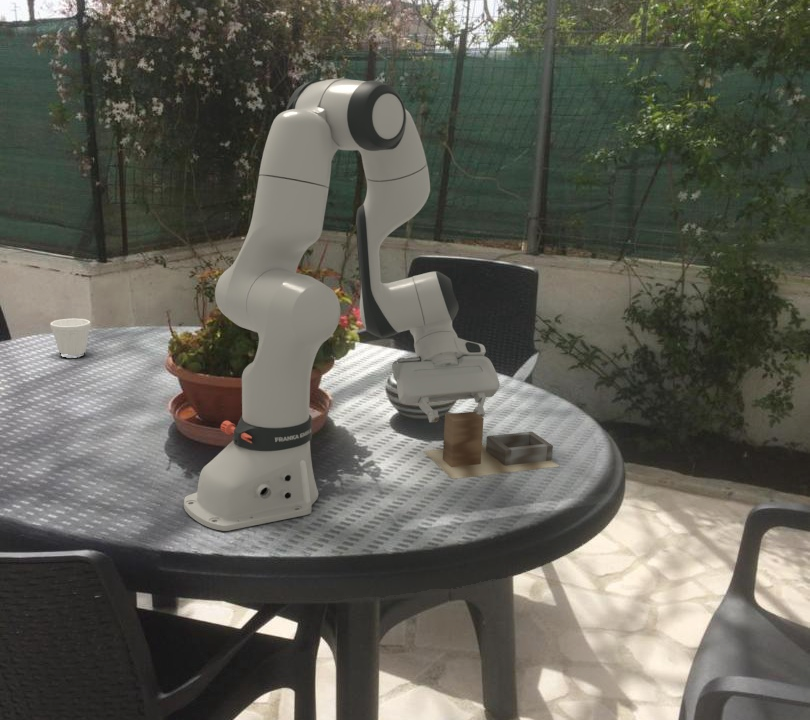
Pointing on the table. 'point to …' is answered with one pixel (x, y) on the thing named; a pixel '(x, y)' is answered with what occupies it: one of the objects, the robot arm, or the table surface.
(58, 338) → the cup
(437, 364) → the robot arm
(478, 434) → the wooden block
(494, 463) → the floor panel
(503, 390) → the table surface
